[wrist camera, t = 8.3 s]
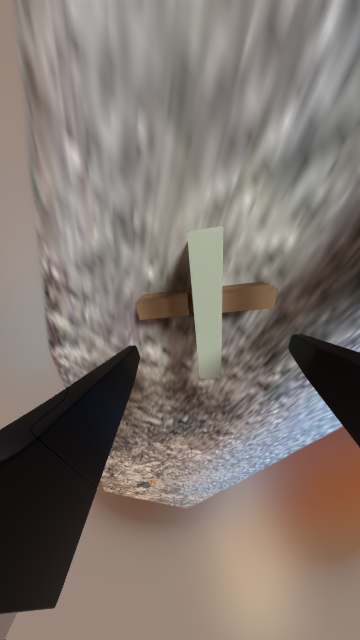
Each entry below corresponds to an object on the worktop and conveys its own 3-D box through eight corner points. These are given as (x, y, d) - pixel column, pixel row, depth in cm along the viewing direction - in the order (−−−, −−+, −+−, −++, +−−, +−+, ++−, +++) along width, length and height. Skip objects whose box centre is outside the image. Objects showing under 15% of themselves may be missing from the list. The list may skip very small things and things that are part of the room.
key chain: (144, 485, 52) (143, 491, 51) (136, 482, 51) (135, 488, 50) (165, 478, 47) (164, 484, 46) (156, 475, 46) (155, 481, 45)
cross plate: (187, 241, 14) (186, 231, 8) (207, 238, 14) (223, 226, 7) (196, 337, 19) (199, 378, 13) (210, 336, 19) (220, 378, 13)
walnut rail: (262, 281, 15) (277, 288, 12) (259, 298, 16) (273, 307, 13) (143, 294, 17) (134, 303, 14) (147, 309, 18) (139, 320, 15)
